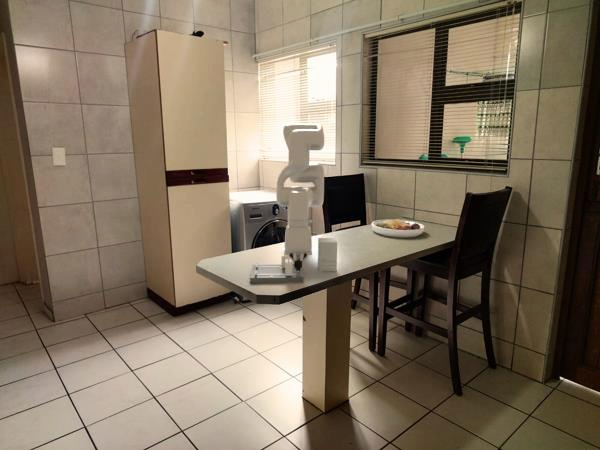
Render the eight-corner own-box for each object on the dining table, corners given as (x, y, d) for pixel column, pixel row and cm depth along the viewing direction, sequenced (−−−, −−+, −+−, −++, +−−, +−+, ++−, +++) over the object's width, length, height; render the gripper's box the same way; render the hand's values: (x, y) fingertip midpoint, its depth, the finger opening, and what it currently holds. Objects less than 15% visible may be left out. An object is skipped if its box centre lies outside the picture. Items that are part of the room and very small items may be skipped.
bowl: (360, 232, 237) (361, 218, 235) (390, 225, 256) (391, 213, 255) (404, 242, 215) (405, 227, 213) (433, 233, 235) (434, 220, 233)
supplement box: (334, 266, 172) (335, 237, 169) (336, 271, 165) (337, 242, 162) (317, 266, 172) (318, 237, 169) (318, 271, 164) (319, 241, 162)
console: (252, 269, 166) (252, 262, 166) (300, 269, 168) (300, 262, 167) (250, 283, 151) (250, 275, 150) (303, 282, 152) (303, 274, 151)
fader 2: (285, 271, 157) (285, 258, 156) (291, 271, 157) (291, 258, 156) (285, 275, 152) (285, 262, 151) (291, 275, 152) (292, 262, 151)
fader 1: (281, 264, 165) (281, 252, 164) (287, 264, 166) (287, 252, 164) (281, 268, 161) (281, 255, 160) (287, 268, 161) (287, 255, 160)
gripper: (317, 221, 155) (316, 266, 159) (278, 221, 154) (278, 267, 158) (319, 225, 147) (318, 272, 151) (278, 225, 146) (278, 273, 150)
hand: (297, 269), depth 154 cm, fingers closed
